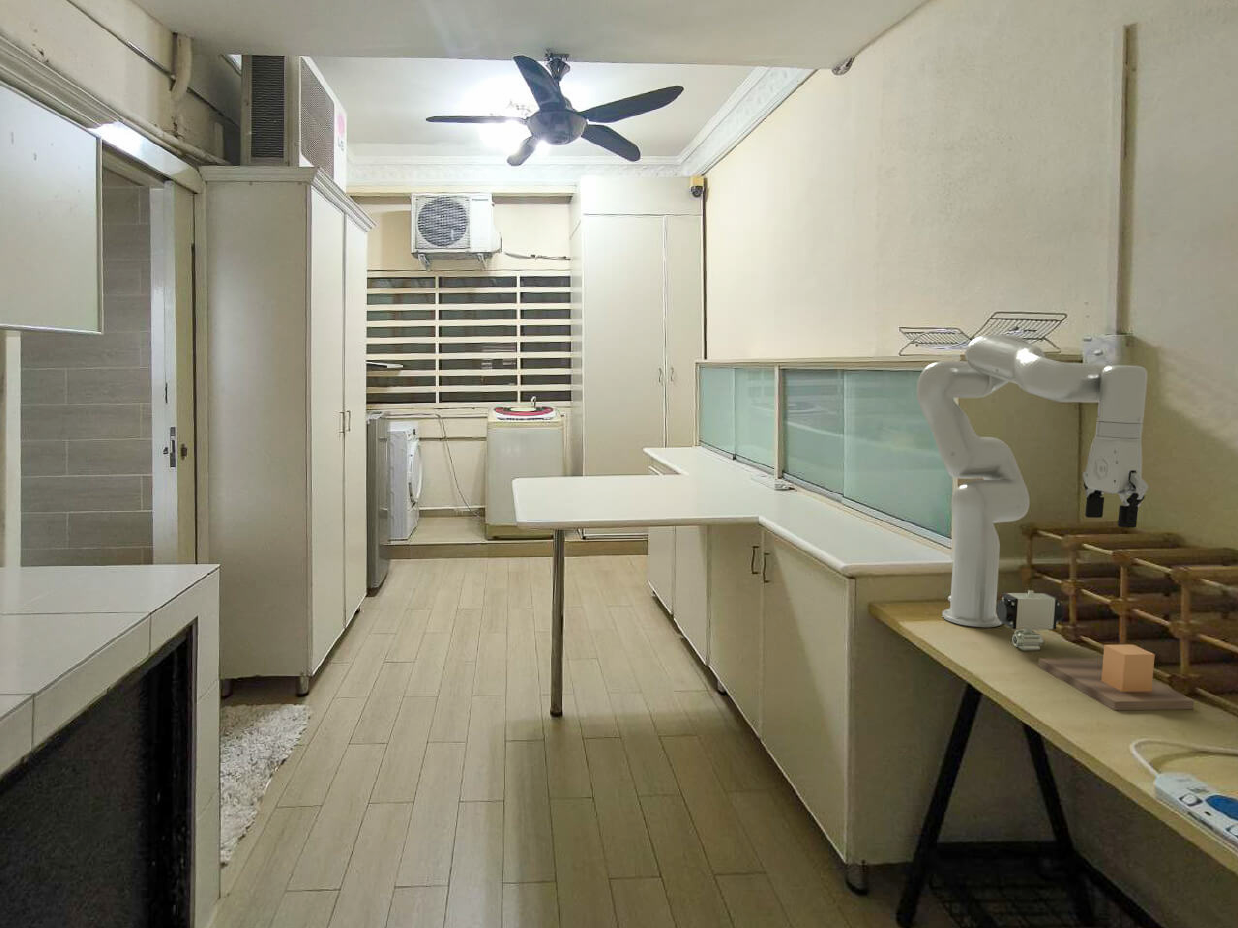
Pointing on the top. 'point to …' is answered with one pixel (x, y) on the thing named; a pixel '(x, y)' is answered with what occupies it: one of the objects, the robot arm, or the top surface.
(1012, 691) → the top surface
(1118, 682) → the peach foam cube
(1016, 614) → the pneumatic valve
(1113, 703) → the brown wooden board
